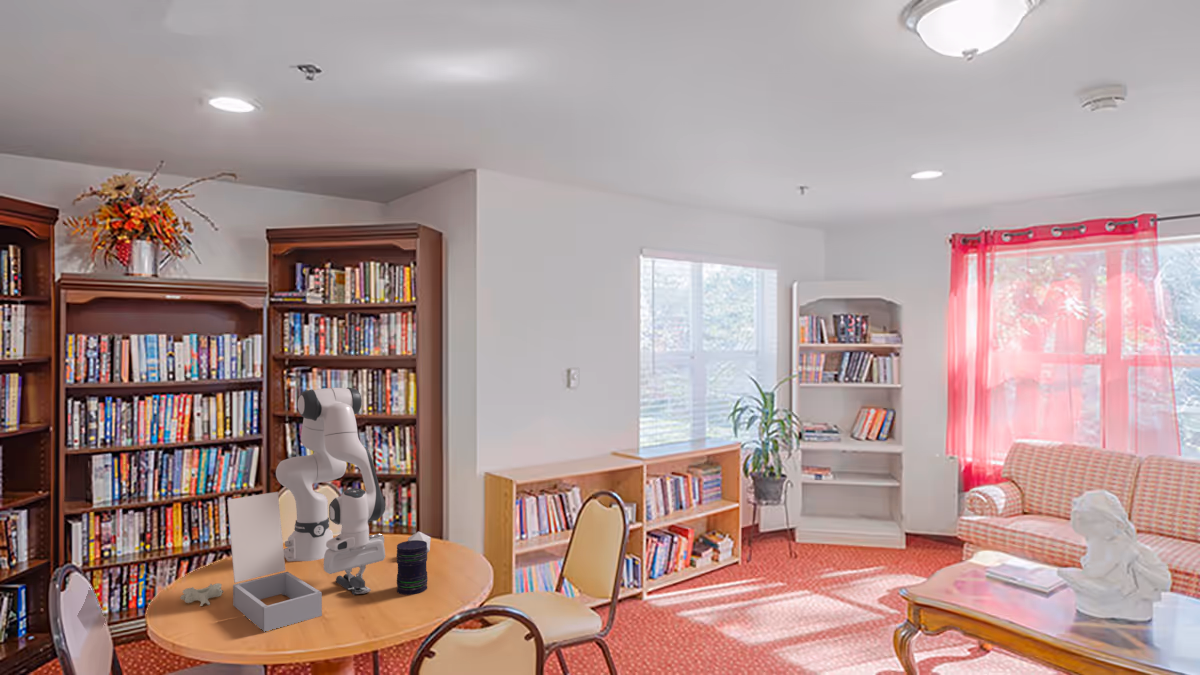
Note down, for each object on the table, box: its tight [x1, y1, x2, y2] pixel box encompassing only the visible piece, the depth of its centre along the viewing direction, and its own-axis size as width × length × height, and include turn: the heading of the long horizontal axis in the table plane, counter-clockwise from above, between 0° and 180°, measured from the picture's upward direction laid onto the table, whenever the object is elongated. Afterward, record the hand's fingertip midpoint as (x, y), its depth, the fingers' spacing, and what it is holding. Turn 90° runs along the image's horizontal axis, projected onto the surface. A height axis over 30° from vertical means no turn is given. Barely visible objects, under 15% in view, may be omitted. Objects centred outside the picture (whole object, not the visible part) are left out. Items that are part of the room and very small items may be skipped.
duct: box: [232, 571, 323, 633], centre depth 207 cm, size 26×16×7 cm, turn 46°
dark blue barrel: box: [396, 540, 428, 596], centre depth 224 cm, size 10×10×15 cm
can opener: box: [335, 573, 372, 596], centre depth 227 cm, size 19×5×6 cm, turn 43°
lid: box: [226, 491, 286, 584], centre depth 219 cm, size 26×15×1 cm
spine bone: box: [179, 583, 224, 607], centre depth 214 cm, size 12×10×5 cm
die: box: [407, 531, 432, 553], centre depth 257 cm, size 8×9×10 cm
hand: (355, 580), depth 226 cm, fingers closed on can opener
